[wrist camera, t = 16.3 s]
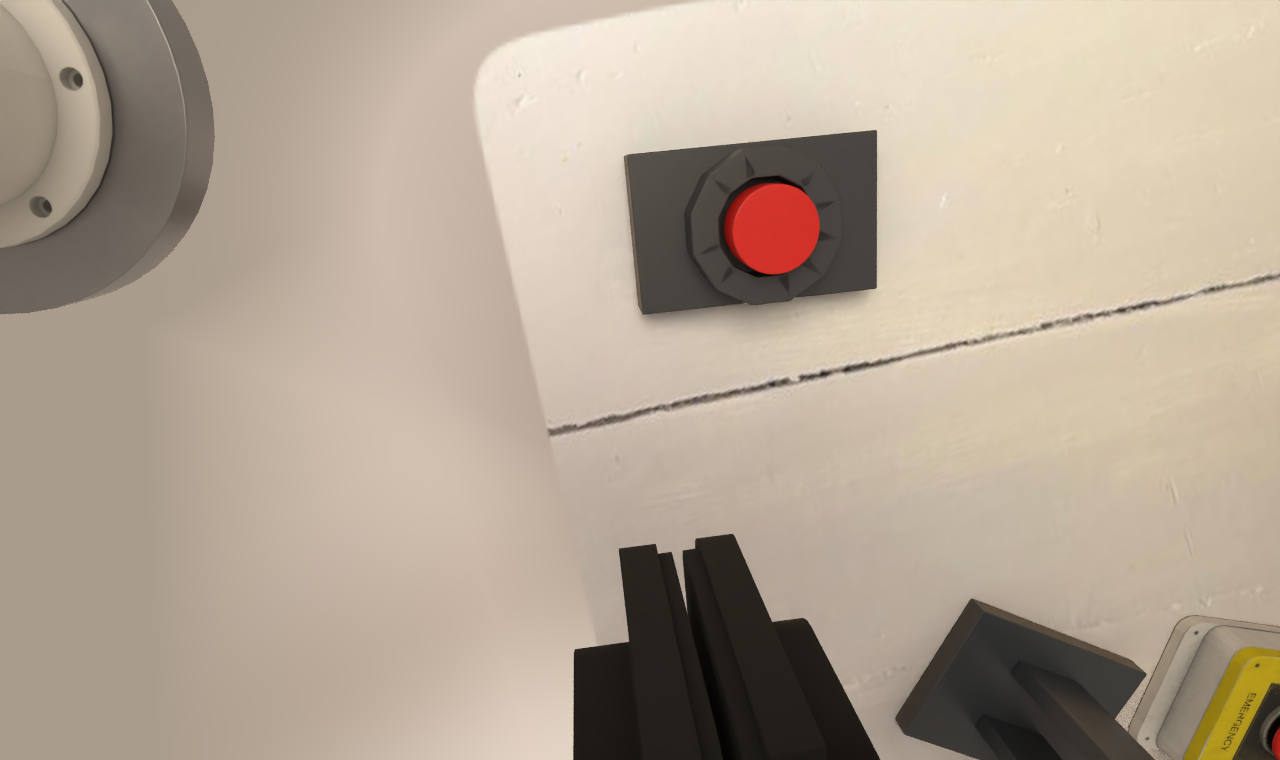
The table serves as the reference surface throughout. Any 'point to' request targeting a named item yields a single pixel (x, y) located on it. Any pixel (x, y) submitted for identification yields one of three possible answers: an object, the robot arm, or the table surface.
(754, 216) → the red button
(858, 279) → the button block
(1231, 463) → the table surface
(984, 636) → the lever stand
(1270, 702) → the emergency button
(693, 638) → the robot arm
